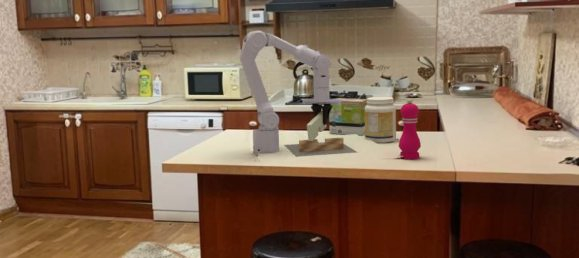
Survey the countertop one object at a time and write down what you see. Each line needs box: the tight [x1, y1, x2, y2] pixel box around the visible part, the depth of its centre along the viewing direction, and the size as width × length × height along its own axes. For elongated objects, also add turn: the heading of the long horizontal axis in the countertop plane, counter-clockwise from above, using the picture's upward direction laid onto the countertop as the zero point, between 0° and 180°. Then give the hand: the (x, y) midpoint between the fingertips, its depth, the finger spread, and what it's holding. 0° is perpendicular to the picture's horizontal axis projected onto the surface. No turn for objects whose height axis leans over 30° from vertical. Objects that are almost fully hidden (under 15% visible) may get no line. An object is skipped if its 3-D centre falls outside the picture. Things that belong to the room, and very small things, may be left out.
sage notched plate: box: [306, 110, 328, 141], centre depth 205 cm, size 14×2×6 cm, turn 155°
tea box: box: [328, 97, 368, 136], centre depth 244 cm, size 15×10×15 cm
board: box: [283, 141, 358, 158], centre depth 208 cm, size 22×23×1 cm
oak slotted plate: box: [298, 137, 345, 152], centre depth 204 cm, size 16×2×4 cm, turn 101°
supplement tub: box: [364, 96, 397, 144], centre depth 224 cm, size 12×12×17 cm
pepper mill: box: [398, 98, 422, 161], centre depth 190 cm, size 7×7×20 cm
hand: (322, 124), depth 210 cm, fingers closed on sage notched plate, 2 cm apart
